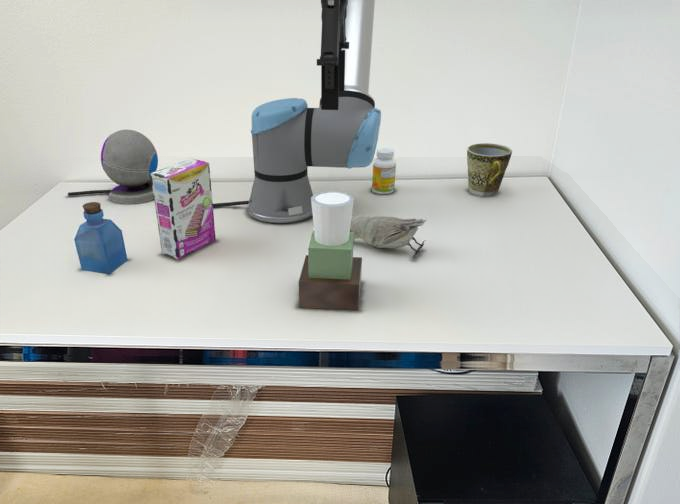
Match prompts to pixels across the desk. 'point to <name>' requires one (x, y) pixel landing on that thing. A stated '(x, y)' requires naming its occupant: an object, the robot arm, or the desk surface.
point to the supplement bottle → (384, 171)
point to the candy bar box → (184, 207)
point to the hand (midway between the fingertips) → (333, 99)
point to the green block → (330, 259)
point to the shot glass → (332, 217)
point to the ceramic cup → (486, 167)
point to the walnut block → (330, 289)
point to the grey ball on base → (129, 166)
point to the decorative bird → (386, 231)
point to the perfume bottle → (99, 242)
